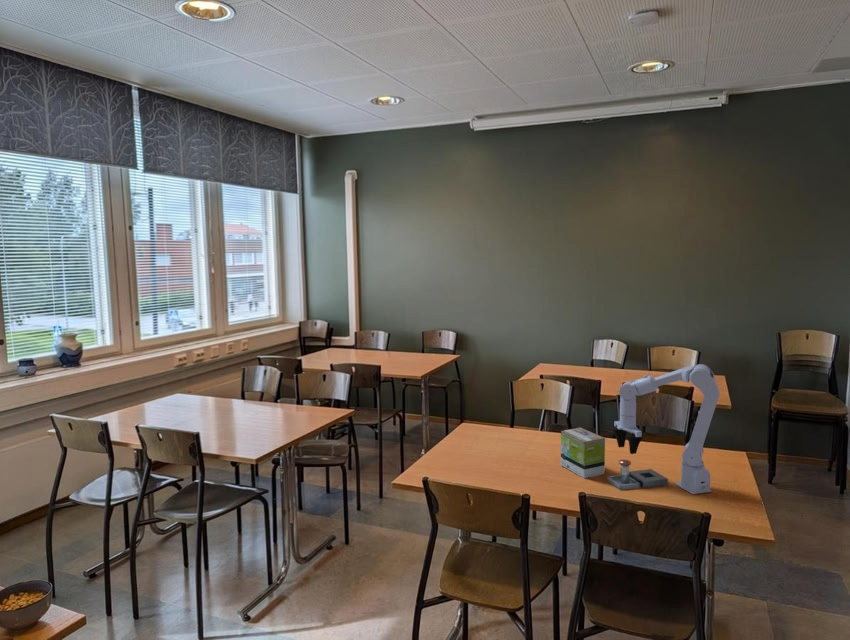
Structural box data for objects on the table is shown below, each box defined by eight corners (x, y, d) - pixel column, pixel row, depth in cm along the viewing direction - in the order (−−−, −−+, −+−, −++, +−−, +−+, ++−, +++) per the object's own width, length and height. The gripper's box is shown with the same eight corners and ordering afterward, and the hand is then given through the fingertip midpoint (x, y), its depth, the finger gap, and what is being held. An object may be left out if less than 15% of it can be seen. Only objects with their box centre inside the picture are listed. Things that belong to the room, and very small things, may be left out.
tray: (640, 487, 210) (640, 483, 210) (620, 489, 208) (620, 485, 208) (626, 478, 218) (626, 474, 218) (606, 480, 217) (606, 476, 216)
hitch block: (667, 485, 211) (667, 478, 211) (643, 488, 209) (643, 481, 209) (650, 475, 221) (651, 468, 221) (627, 478, 219) (627, 471, 218)
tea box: (559, 466, 232) (560, 429, 231) (580, 462, 236) (580, 426, 235) (584, 479, 219) (584, 440, 217) (605, 474, 222) (606, 437, 221)
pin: (632, 483, 212) (633, 462, 211) (622, 484, 211) (622, 463, 210) (626, 479, 216) (626, 459, 215) (616, 480, 215) (617, 460, 214)
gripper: (607, 410, 223) (606, 445, 225) (629, 420, 209) (629, 457, 211) (623, 409, 225) (623, 443, 226) (647, 419, 211) (646, 455, 212)
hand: (627, 450), depth 219 cm, fingers open, 7 cm apart
